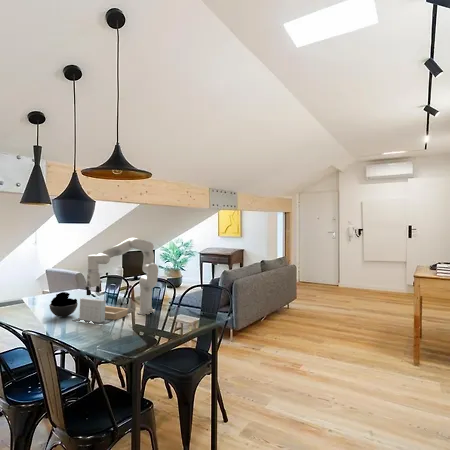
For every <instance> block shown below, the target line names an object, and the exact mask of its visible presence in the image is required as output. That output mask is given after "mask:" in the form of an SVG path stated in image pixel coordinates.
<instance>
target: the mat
mask: <svg viewBox="0 0 450 450" xmlns="http://www.w3.org/2000/svg"><path fill="white" fill-rule="evenodd" d="M76 321H80V319H79V317H78V318H75V319H72V322H76ZM84 321H85V322H88V323H87V324H89V322H90V321H86V320H84ZM111 322H112V320H111V319H108V320H107V319H105V321H104V322H101V323H99V322H93V323H94V324H93V325H96V324H103V325H106V324H108V323H111ZM105 323H106V324H105Z"/></svg>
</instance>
